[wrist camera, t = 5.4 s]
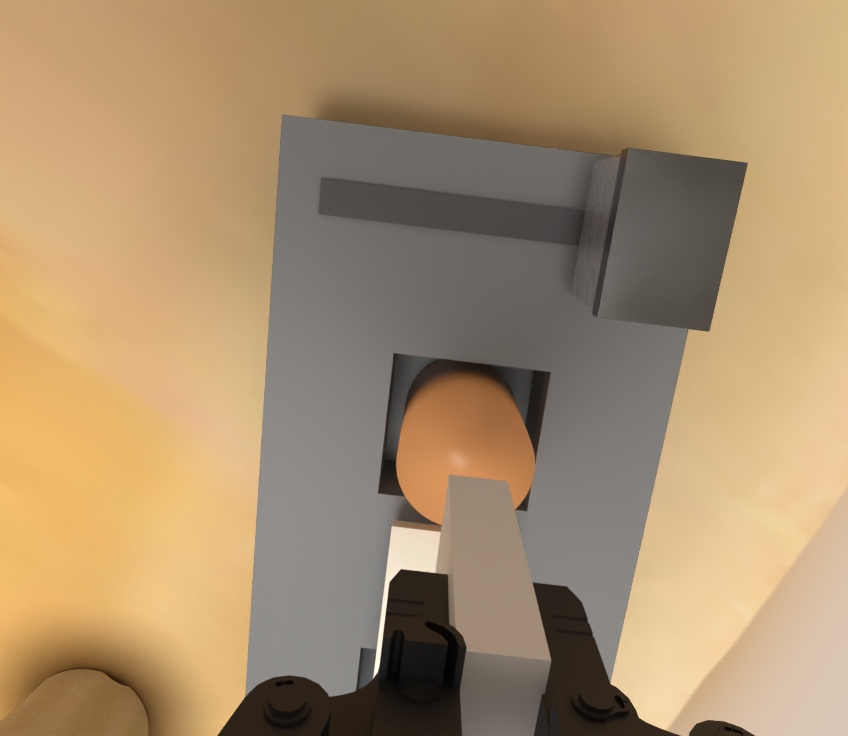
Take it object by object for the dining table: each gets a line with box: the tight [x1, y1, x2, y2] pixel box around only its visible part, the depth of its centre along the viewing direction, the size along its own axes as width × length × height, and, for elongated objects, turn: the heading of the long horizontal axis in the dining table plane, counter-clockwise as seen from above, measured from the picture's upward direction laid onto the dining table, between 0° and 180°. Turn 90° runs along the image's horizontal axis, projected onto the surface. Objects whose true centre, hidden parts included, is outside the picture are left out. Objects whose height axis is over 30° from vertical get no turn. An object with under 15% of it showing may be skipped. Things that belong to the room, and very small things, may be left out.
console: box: [245, 115, 688, 697], centre depth 28 cm, size 15×28×6 cm, turn 173°
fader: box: [571, 148, 748, 331], centre depth 21 cm, size 3×5×4 cm
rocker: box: [373, 520, 441, 678], centre depth 24 cm, size 4×7×1 cm, turn 173°
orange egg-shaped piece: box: [396, 359, 535, 525], centre depth 25 cm, size 5×5×6 cm
